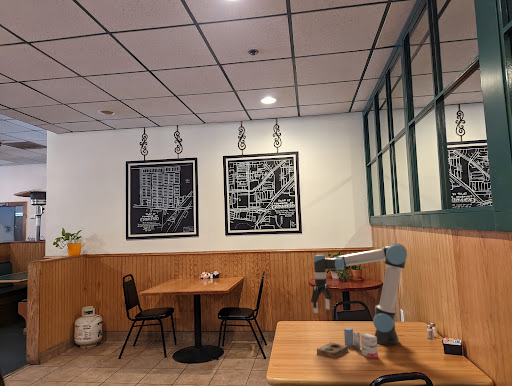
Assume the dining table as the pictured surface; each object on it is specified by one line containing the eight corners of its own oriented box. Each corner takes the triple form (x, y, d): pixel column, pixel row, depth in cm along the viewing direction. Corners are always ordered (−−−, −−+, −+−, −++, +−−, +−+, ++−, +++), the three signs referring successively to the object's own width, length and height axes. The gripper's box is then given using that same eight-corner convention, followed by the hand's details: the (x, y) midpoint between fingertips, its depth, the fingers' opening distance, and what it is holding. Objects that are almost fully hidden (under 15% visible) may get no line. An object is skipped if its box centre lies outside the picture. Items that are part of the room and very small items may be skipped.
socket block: (348, 351, 224) (347, 345, 224) (334, 358, 212) (334, 353, 213) (330, 347, 232) (330, 342, 232) (316, 354, 220) (316, 348, 221)
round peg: (361, 349, 227) (360, 332, 228) (358, 350, 224) (357, 333, 225) (355, 348, 229) (355, 331, 230) (353, 349, 226) (352, 332, 227)
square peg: (353, 344, 236) (352, 328, 237) (350, 346, 233) (349, 330, 234) (348, 343, 238) (347, 327, 239) (344, 345, 235) (344, 329, 236)
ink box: (378, 357, 212) (377, 336, 213) (371, 359, 210) (370, 337, 211) (367, 353, 220) (366, 332, 221) (361, 354, 218) (360, 334, 219)
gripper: (326, 275, 257) (327, 306, 255) (304, 280, 239) (306, 313, 237) (335, 276, 252) (337, 308, 250) (314, 281, 234) (315, 315, 232)
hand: (322, 311), depth 244 cm, fingers open, 13 cm apart
